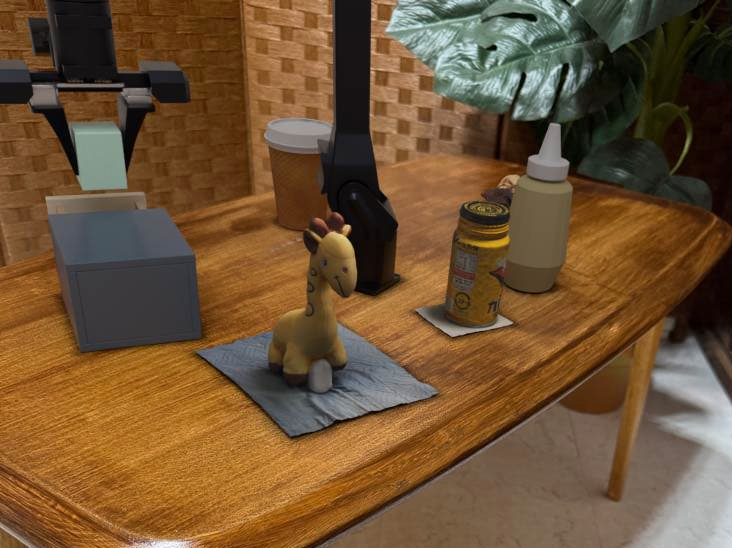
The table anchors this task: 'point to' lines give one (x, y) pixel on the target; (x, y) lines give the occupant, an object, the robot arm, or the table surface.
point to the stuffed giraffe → (317, 350)
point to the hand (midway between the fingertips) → (101, 173)
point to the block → (99, 155)
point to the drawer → (95, 202)
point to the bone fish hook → (502, 191)
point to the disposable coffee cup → (297, 169)
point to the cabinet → (126, 278)
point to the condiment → (474, 271)
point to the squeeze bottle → (540, 219)
